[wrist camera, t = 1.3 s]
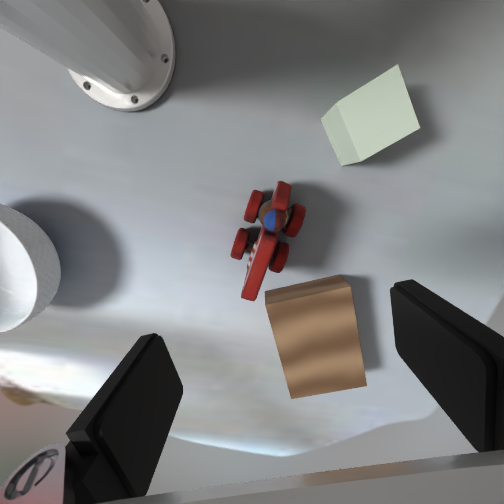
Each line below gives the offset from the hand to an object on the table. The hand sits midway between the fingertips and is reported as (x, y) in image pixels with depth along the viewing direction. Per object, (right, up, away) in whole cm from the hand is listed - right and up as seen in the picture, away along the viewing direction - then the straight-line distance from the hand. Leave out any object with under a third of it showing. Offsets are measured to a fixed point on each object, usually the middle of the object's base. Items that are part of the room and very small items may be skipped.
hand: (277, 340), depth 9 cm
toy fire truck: (+1, +7, +22) cm, 24 cm away
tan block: (+8, -8, +26) cm, 29 cm away
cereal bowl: (-34, +3, +25) cm, 42 cm away
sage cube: (+11, +18, +19) cm, 28 cm away
